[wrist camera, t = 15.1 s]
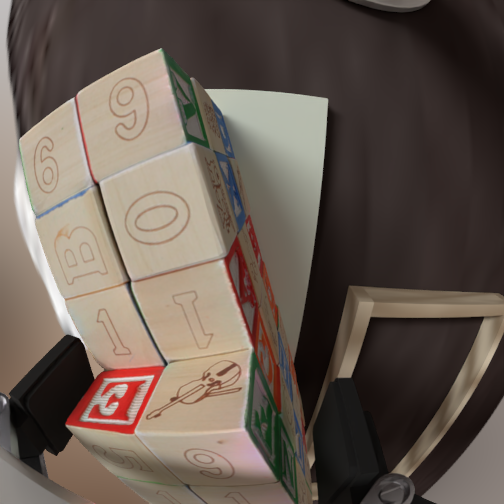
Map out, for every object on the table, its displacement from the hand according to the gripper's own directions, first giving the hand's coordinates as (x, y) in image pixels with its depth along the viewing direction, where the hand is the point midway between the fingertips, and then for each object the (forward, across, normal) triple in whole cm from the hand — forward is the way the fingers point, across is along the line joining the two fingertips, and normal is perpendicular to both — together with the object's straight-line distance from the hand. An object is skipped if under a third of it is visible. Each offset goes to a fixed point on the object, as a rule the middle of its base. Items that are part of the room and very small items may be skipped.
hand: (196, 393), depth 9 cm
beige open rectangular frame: (+10, -16, +14) cm, 23 cm away
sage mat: (+10, 0, +1) cm, 10 cm away
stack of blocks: (+9, 0, 0) cm, 9 cm away
